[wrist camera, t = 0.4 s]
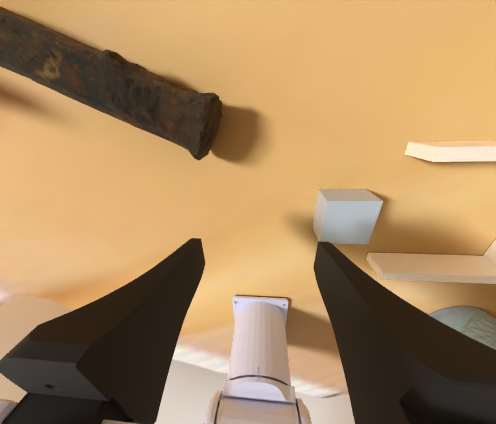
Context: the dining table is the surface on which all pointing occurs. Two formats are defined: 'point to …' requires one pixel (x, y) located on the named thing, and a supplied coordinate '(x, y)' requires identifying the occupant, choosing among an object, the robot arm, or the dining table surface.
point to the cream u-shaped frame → (435, 265)
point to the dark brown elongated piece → (109, 84)
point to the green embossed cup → (469, 323)
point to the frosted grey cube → (345, 215)
